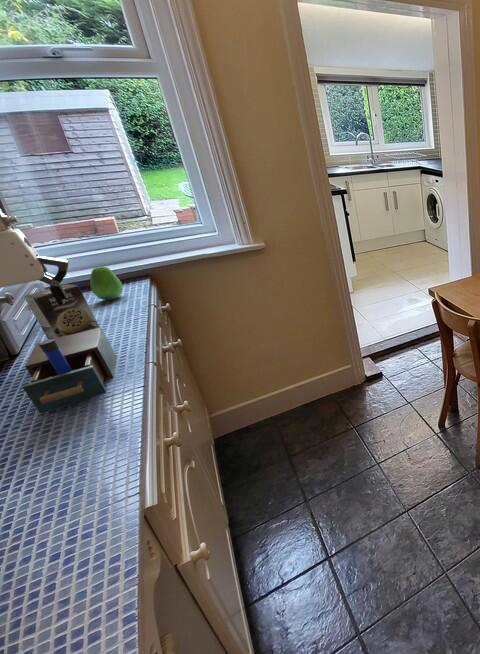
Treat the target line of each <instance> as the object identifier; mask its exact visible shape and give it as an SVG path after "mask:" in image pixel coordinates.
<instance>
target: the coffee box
mask: <svg viewBox="0 0 480 654" xmlns="http://www.w3.org/2000/svg"><path fill="white" fill-rule="evenodd" d="M61 286H62V287H63V289H64V291H65V293H66V295H67V297H68V298H67V299H65V300H66V301H65V303H64V305H58V303H57V301H56V300H55V298H54V296H53V294H52V293H51V291H50V289H49V288H48V289H43V290H40V291H37V292H33V293H30V294H26V295H23V298H24V300H25V302H26V304H27V306H28V307H29V309H30V310H31V312H32V314H33V316H34V317H35V320H36V321H37V323H38V324H39V326H40V329H42V331H43V333H44V335H45V337H46V338H47V340H49V339H56V338H60V337H64V336H68V335H72V334H76V333H80V332H84V331H88V330H92V329H96V328H100V327H101V326H100V325H99V323H98V321H97V319H96V316H95V315H94V313H93V311H92V309H91V307H90V305H89V303H88V301H87V300H86V298H85V296H84V294H83V292H82V290H81V288H80V286H79V285H76V284H67V283H65V284H61Z"/></svg>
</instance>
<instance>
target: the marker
mask: <svg viewBox="0 0 480 654" xmlns="http://www.w3.org/2000/svg"><path fill="white" fill-rule="evenodd" d="M38 343H39V346H40V347H41V349H42V351H43V352H44V353H45V354H46V356H47V358H48V359H49V361H50V362H51V364H52V366H53V367H54V369H55V371H56V372H57V374H58V375H60V374H64V373H67V372H71V371H72V369H71V368H70V366H69V364H68V362H67V361H66V359H65V357H64V356H63V354H62V352H61V351H60V349H59V346H58V344H57V343H56V341H55V339H49V340H48V339H45V340H41V341H40V342H38Z"/></svg>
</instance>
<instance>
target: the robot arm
mask: <svg viewBox="0 0 480 654" xmlns="http://www.w3.org/2000/svg"><path fill="white" fill-rule="evenodd" d="M15 224H20V220H19V218H18V217H17V216H16V215H15V216H10V215H6V214H5V213H4V212H3V211H2V209H1V208H0V289H1V288H6V287H12V286H17V285H22V284H27V283H31V282H35V281H39V282H42V283H44V284H47V285H49V288H48V289H50V291H51V293H52V294H53V296H54V298H55V300H56V301H57V303H58V305H64V303H65V301H66V300H65V299H67V298H68V297H67V295H66V293H65V291H64V289H63V287H62V286H61V285H62V284H61V283H62V282H63V280H64V279H65V277H66V275H67V274H68V269H69V263H70V262H69V260H67V259H61V258H54V257H48V256H41V255H40V254H39V253H38V251H37V250H36V248H35V247H34V246H33V244H32V243H31V241H30V240H29V239H28V238H27V236H26V235H25V234H24V233H23V231H21V229H19V228H12V227H13V226H14V225H15ZM47 266H54V267H57V268H58V269H57V272H56V274H55V275H54V274H51V273H48V271H49V270H48V267H47Z"/></svg>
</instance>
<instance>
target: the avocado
mask: <svg viewBox="0 0 480 654" xmlns="http://www.w3.org/2000/svg"><path fill="white" fill-rule="evenodd" d="M89 284H90V285H89V287H90V290H91V291H92V293H93V295H94V296H95V297H97V298H98V299H100V300H103V301H111V300H112V301H113V300H115V299H118V298H119V297H120V296H121V295H122V293H123V283H122V281H121V280H120V279H119V277H118V276H117V275H116V274H115V273H114V272H113V271H112V270H111V268H109V267H107V266H96V267H94V268H93V269H92V270H91V273H90V280H89Z"/></svg>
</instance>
